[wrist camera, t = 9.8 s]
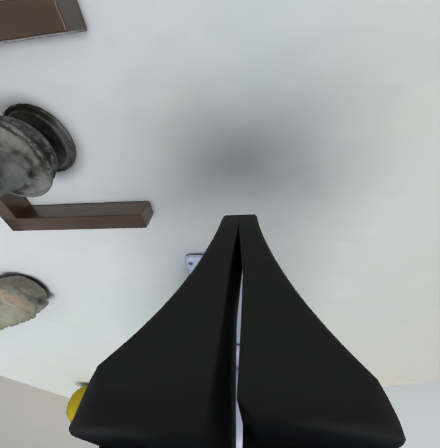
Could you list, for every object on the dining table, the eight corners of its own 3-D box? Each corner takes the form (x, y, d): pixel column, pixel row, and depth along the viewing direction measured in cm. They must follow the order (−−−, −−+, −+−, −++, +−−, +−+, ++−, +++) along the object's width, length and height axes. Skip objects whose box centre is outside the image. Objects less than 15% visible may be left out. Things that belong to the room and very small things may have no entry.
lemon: (99, 389, 65) (84, 426, 59) (78, 385, 64) (61, 423, 58) (99, 383, 62) (83, 423, 56) (77, 379, 61) (58, 419, 55)
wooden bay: (153, 213, 22) (146, 227, 21) (27, 218, 24) (13, 231, 23) (74, -5, 13) (51, -9, 11) (-125, 28, 14) (-169, 28, 13)
